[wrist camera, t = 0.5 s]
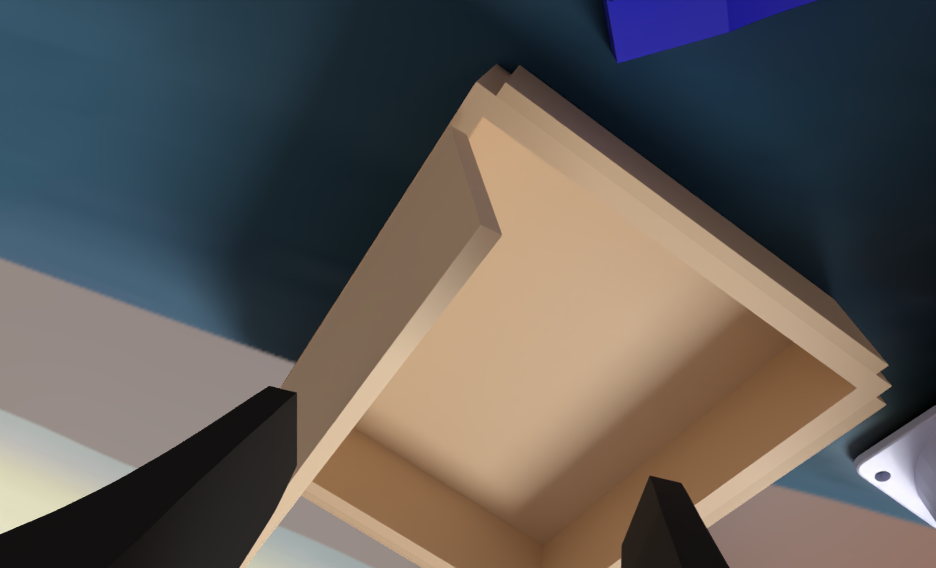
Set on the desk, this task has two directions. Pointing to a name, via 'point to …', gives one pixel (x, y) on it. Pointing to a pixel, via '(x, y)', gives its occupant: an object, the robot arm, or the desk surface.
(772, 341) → the carton
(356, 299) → the carton flap
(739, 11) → the cable clip
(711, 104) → the desk surface
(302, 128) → the desk surface
